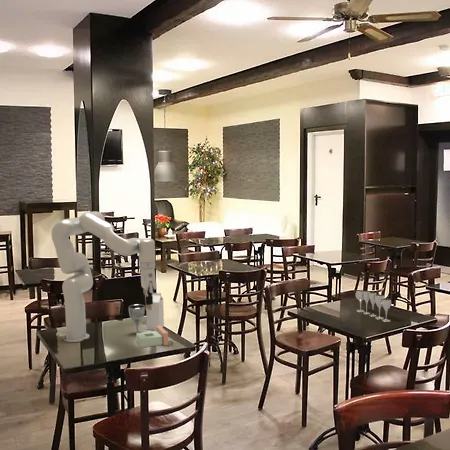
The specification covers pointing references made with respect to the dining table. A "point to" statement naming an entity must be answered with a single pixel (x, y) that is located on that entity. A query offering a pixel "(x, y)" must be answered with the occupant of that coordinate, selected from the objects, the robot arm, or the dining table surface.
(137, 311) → the wine glass
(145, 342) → the tissue box
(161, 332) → the orange rectangular block
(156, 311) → the milk carton
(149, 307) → the dowel
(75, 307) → the robot arm
